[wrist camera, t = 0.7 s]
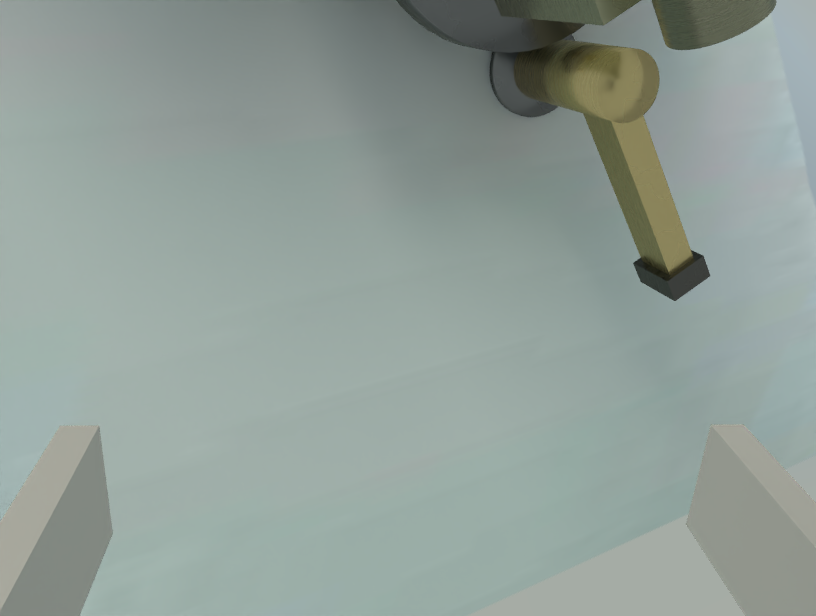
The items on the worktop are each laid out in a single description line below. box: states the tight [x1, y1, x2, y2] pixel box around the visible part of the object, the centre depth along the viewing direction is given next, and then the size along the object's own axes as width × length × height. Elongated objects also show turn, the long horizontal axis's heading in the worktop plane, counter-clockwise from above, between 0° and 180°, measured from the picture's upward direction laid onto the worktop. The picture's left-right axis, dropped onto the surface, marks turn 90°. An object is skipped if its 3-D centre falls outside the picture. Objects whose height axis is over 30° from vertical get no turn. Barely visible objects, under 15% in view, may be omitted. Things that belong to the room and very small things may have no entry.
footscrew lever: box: [514, 39, 710, 301], centre depth 39 cm, size 14×3×8 cm, turn 30°
